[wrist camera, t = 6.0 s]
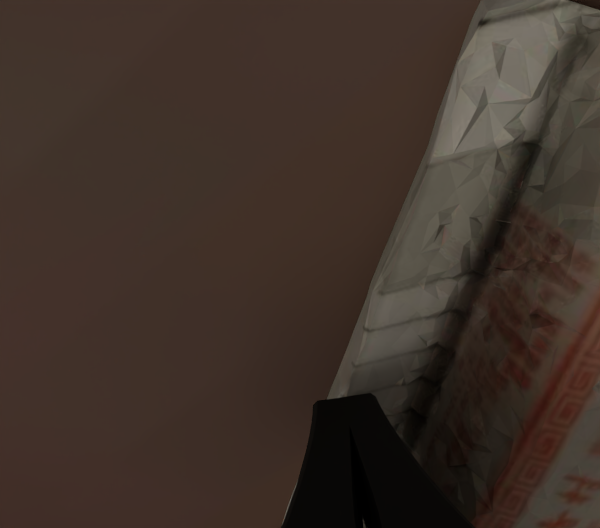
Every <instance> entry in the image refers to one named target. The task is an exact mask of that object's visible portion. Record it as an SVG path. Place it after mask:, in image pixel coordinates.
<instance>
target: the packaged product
mask: <svg viewBox="0 0 600 528" xmlns="http://www.w3.org/2000/svg"><path fill="white" fill-rule="evenodd" d="M367 393H371V394H373V395H374V396H376V398H377V400H378V402H379V404H380V406H381V408H382V410H383V412H384V413H385V415H386V417H387V419H388V420H389V422H390V423H391V425H392V426H393V428H394V430H395V431H396V433H397V434H398V436H399V437H400V438H401V440H402V441H403V443H404V444H405V446H406V447H407V448H408V450H409V451H410V452H411V454H412V455H413V456H414V458H415V459H416V460H417V462H418V463H419V464H420V465H421V467H422V468H423V469H424V471H425V472H426V473H427V474H428V476H429V477H430V478H431V479H432V480H433V482H434V483H435V484H436V485H437V486H438V487H439V489H440V490H441V491H442V492H443V493H444V494H445V496H446V497H447V498H448V499H449V500H450V501H451V502H452V503H453V505H454V506H455V507H456V508H457V509H458V510H459V511H460V512H461V513H462V514H463V515H464V516H465V517H466V519H467V520H468V521H469V522H470V523H471V524H472V525H473V526H474V527H475V528H600V10H598V9H595V8H592V7H588V6H585V5H582V4H579V3H576V2H572V1H569V0H481V1H480V4H479V6H478V8H477V10H476V12H475V14H474V16H473V18H472V20H471V23H470V26H469V28H468V31H467V34H466V37H465V40H464V42H463V45H462V48H461V51H460V53H459V56H458V59H457V62H456V65H455V67H454V70H453V73H452V76H451V78H450V81H449V84H448V87H447V89H446V92H445V95H444V98H443V101H442V103H441V106H440V109H439V112H438V114H437V117H436V121H435V124H434V127H433V131H432V134H431V137H430V141H429V144H428V147H427V150H426V152H425V154H424V157H423V159H422V162H421V164H420V166H419V169H418V171H417V173H416V176H415V178H414V180H413V183H412V185H411V188H410V190H409V192H408V195H407V197H406V199H405V202H404V204H403V206H402V209H401V211H400V214H399V216H398V218H397V221H396V223H395V225H394V228H393V230H392V232H391V235H390V237H389V240H388V242H387V244H386V247H385V249H384V251H383V254H382V256H381V259H380V261H379V264H378V266H377V269H376V271H375V273H374V276H373V278H372V281H371V284H370V287H369V291H368V295H367V298H366V300H365V303H364V305H363V308H362V311H361V313H360V316H359V318H358V321H357V324H356V326H355V329H354V331H353V334H352V337H351V339H350V342H349V344H348V347H347V350H346V352H345V355H344V357H343V360H342V362H341V365H340V367H339V370H338V372H337V375H336V377H335V380H334V382H333V385H332V387H331V389H330V392H329V394H328V397H327V399H333V398H340V397H347V396H354V395H360V394H367ZM297 482H298V481H297ZM296 485H297V483H296ZM295 488H296V486H295ZM294 491H295V489H294ZM294 491H293V493H294ZM292 496H293V494H292ZM292 496H291V499H292ZM291 499H290V502H291ZM290 502H289V505H290ZM289 505H288V508H289ZM288 508H287V511H288ZM287 511H286V513H287ZM285 516H286V514H285ZM284 519H285V517H284ZM283 521H284V520H283ZM282 524H283V523H282ZM363 528H366V527H365V524H364V520H363Z"/></svg>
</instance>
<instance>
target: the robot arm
mask: <svg viewBox="0 0 600 528" xmlns="http://www.w3.org/2000/svg"><path fill="white" fill-rule="evenodd" d="M363 520H364V524H365V527H366V528H475V527H474V526H473V525H472V524H471V523H470V522H469V521H468V520H467V519H466V517H465V516H464V515H463V514H462V513H461V512H460V511H459V510H458V509H457V508H456V507H455V506H454V505H453V503H452V502H451V501H450V500H449V499H448V498H447V497H446V496H445V494H444V493H443V492H442V491H441V490H440V489H439V487H438V486H437V485H436V484H435V483H434V482H433V480H432V479H431V478H430V477H429V476H428V474H427V473H426V472H425V471H424V469H423V468H422V467H421V465H420V464H419V463H418V462H417V460H416V459H415V458H414V456H413V455H412V454H411V452H410V451H409V450H408V448H407V447H406V446H405V444H404V443H403V441H402V440H401V438H400V437H399V436H398V434H397V433H396V431H395V430H394V428H393V426H392V425H391V423H390V422H389V420H388V419H387V417H386V415H385V413H384V412H383V410H382V408H381V406H380V404H379V402H378V400H377V398H376V396H374V395H373V394H371V393H367V394H360V395H354V396H347V397H340V398H333V399H327V400H320V401H317V402H316V403H315V404H314V405H313V416H312V424H311V430H310V436H309V440H308V445H307V449H306V453H305V457H304V460H303V464H302V468H301V471H300V475H299V478H298V482H297V485H296V488H295V491H294V493H293V496H292V499H291V502H290V505H289V508H288V511H287V513H286V516H285V519H284V521H283V524H282V526H281V528H363Z"/></svg>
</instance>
